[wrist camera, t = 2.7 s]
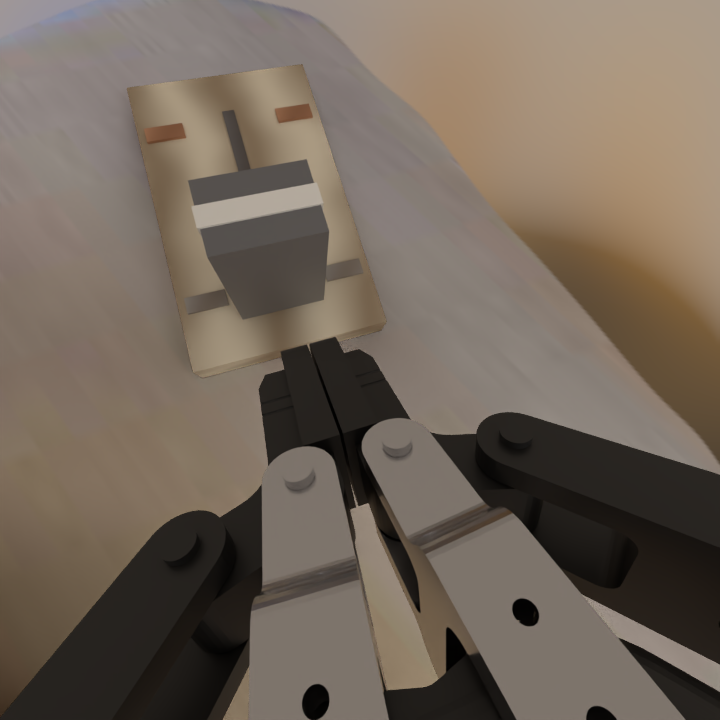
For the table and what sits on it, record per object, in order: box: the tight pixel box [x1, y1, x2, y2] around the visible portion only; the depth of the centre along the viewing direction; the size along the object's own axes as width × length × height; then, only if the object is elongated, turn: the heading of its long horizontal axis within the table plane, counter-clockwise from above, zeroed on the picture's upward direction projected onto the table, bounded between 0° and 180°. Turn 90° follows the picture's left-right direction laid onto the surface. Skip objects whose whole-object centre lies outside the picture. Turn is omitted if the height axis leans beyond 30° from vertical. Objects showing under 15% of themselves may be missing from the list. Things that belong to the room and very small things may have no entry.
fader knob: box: [188, 159, 329, 320], centre depth 20 cm, size 5×4×8 cm
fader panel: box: [127, 64, 387, 378], centre depth 26 cm, size 12×20×2 cm, turn 17°
